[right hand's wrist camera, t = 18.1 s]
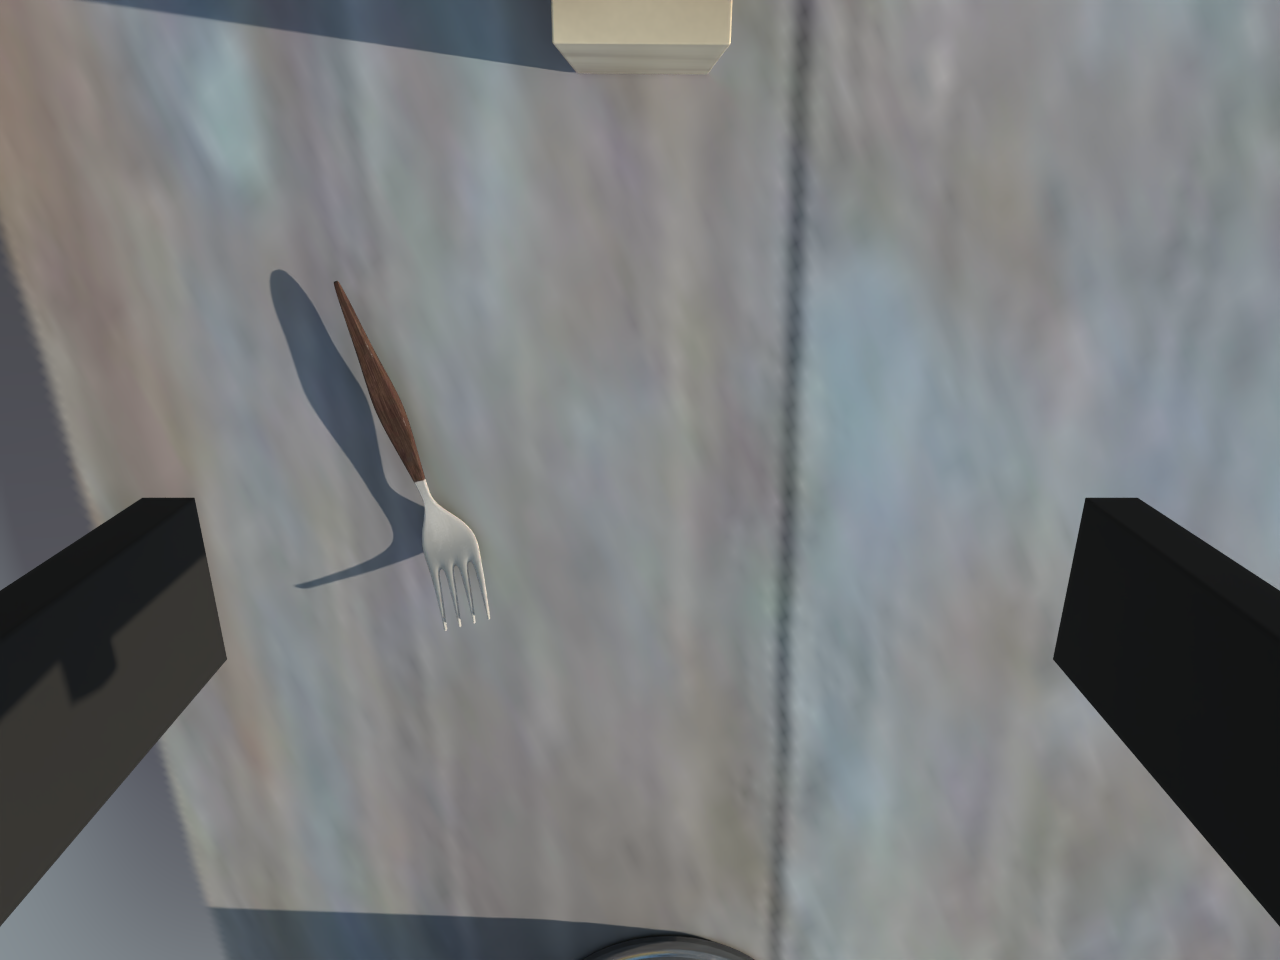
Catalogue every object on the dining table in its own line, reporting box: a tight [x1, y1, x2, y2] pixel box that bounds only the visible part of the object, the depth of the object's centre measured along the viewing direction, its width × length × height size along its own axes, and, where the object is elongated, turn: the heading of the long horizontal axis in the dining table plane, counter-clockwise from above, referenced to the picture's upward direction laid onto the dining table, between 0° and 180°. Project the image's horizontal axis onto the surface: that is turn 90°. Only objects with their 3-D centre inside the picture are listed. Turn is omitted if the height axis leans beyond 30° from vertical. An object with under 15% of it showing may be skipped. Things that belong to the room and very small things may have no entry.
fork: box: [334, 281, 490, 631], centre depth 36 cm, size 3×16×2 cm, turn 16°
